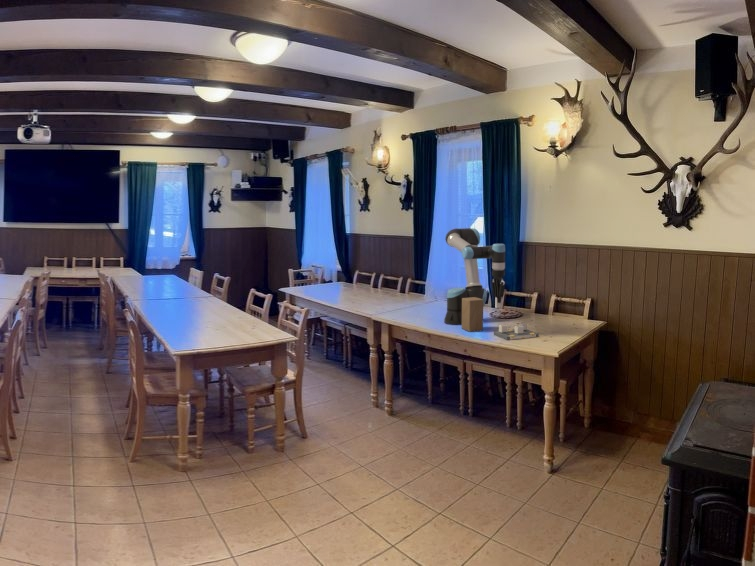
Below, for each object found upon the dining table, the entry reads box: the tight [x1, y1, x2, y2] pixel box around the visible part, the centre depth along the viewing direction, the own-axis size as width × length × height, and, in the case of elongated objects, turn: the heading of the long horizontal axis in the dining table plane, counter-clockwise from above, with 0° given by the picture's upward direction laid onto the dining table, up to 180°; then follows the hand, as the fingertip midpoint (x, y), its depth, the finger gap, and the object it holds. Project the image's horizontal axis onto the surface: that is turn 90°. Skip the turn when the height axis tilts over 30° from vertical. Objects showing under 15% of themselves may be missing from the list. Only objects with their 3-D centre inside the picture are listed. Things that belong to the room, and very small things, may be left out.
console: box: [493, 328, 539, 341], centre depth 309 cm, size 14×22×2 cm, turn 110°
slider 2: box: [514, 325, 523, 334], centre depth 305 cm, size 3×4×4 cm
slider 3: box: [518, 322, 528, 330], centre depth 313 cm, size 3×4×4 cm
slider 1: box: [498, 324, 509, 333], centre depth 309 cm, size 3×4×4 cm
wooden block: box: [461, 297, 484, 333], centre depth 324 cm, size 10×10×20 cm
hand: (497, 307), depth 313 cm, fingers closed
